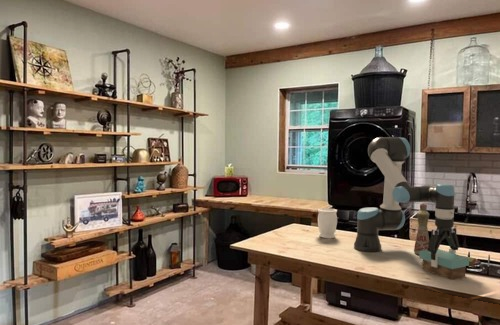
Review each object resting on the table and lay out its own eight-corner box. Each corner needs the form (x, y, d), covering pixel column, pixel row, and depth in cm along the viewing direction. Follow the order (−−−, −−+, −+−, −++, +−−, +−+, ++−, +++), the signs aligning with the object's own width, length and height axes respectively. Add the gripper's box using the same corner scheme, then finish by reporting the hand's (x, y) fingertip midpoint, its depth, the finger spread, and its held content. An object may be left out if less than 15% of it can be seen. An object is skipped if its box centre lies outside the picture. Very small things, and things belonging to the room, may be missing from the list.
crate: (422, 270, 171) (422, 256, 171) (435, 268, 175) (435, 253, 175) (451, 281, 158) (452, 265, 157) (465, 278, 161) (465, 262, 161)
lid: (419, 258, 172) (419, 250, 172) (435, 255, 176) (435, 248, 176) (452, 269, 156) (452, 261, 156) (468, 265, 161) (469, 258, 161)
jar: (313, 235, 241) (313, 208, 240) (328, 233, 246) (328, 207, 246) (326, 239, 229) (326, 211, 229) (341, 237, 235) (341, 210, 234)
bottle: (434, 254, 198) (435, 203, 197) (427, 257, 193) (428, 205, 191) (418, 250, 205) (419, 201, 204) (411, 253, 199) (411, 203, 198)
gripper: (433, 221, 157) (432, 271, 158) (469, 217, 167) (467, 263, 168) (419, 218, 164) (418, 265, 165) (454, 214, 174) (452, 259, 175)
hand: (443, 264), depth 166 cm, fingers closed on lid, 11 cm apart
